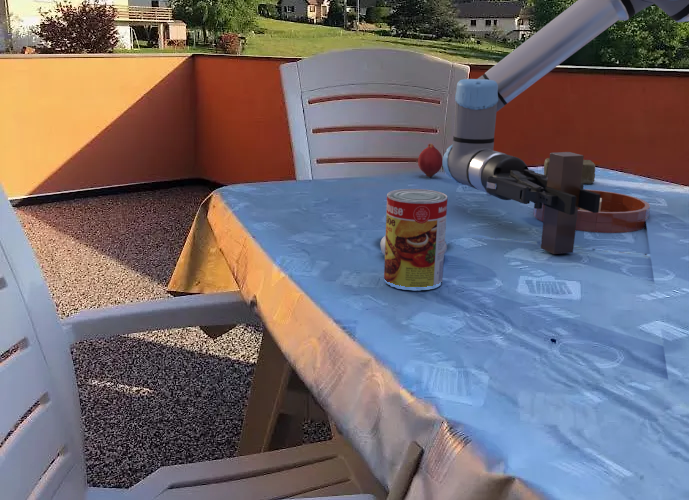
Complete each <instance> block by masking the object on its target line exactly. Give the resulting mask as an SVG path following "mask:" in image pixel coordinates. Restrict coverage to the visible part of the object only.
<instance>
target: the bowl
mask: <svg viewBox="0 0 689 500" xmlns="http://www.w3.org/2000/svg"><path fill="white" fill-rule="evenodd" d="M584 189H585V190H588V191H591V192H594V193H597V194H601V195H600V198H602V202H601V210H600V212H598V213H593V212H590V211H584V210H580V208H579V207H578V212H577V221H576V230H575V231H578V232H579V231H580V232H588V233H600V234H601V233H602V234H623V233H632V232H638V231H641V230H644V229H645V228H646V227H647V220H649V215H650V210H651V205H650V203H649V202H647V201H646V200H645V199H641V198H639V197H637V196H633V195H629V194H624V193H619V192H613V191H607V190H600V189H599V190H598V189H588V188H584ZM544 209H545V205H544V203H542V208H541V209H535V208H534V207H533V216H534V218H535V219H537V220H538V221H540V222H542V223H543V220H544Z"/></svg>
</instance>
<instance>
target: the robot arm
mask: <svg viewBox="0 0 689 500" xmlns="http://www.w3.org/2000/svg"><path fill="white" fill-rule="evenodd" d="M654 4H655V5H656V6H657V7H658V8H659V9H661V11H663V12H664V13H665V14H666V15H668V16H669V17H670V18H671V19H672V20H673V21H675V23H684V22H686V23H687V22H689V0H576V1H575V2H574V3H572V4H571V5H569V7H567V8H566V9H565V10H564V11H562V12H561V13H560V14H558V15H557V16H556V17H554V18H553V19H552V20H550V21H549V22H548V23H547V24H545V25H544V26H543V27H542V28H541V29H539V30H538V31H536V32H535V33H534V34H532V35H531V36H530V37H529V38H528V39H526V40H525V41H524V42H523V43H521V44H520V45H519V46H517V47H516V48H515V49H513V50H512V51H511V52H510V53H508V54H507V55H506V56H505V57H503V58H502V59H501V60H500V61H498V62H497V63H496V64H495V65H493V66H492V67H490V68H489V69H488V70H487V71H485V72H484V73H483V74H482V75H480V76H479V77H478V78H465V79H460V80H459V81H457V84H456V90H455V95H454V116H453V117H454V119H453V120H454V121H453V122H454V123H453V138H452V144H451V145H449V146H448V147H447V148H446V150H445V152H444V154H443V155H442V159H443V161H442V168H443V171H444V173H445V174H446V175H447V176H448V177H449V178H451V179H452V180H454V181H455V182H456V183H458V184H461V185H464V186H467V187H470V188H473V189H476V190H477V191H480V192H483V193H486V194H485V195H486V196H487V197H491V196H492V197H494V198H496V199H497V198H498V199H500V200H503V201H511V200H512V201H515V202H518V203H520V204H523V205H529V204H530V203H533V209H534V208H535V209H541V208H542V203H544V205H545V206H548V207H551V208H553V209H556V210H559V211H561V212H564V213H567V214H569V215H574V214H575V205H576V196H574V195H571V194H568V193H565V192H562V191H559V190H556V189H553V188H550V187H547V179H548V177H547V178H546V176H545V175H544V173H543V174H542V173H539V172H535V170H533V169H529V166H528V165H527V164H526V162H525V161H524V160H523V159H521V158H519V157H517V156H513V155H510V154H507V153H504V152H501V151H496V150H494V146H495V133H496V121H497V112H499V111H500V110H501V109H502V108H504V107H505V106H506V105H507V104H509V103H510V102H511V101H512V100H514V99H515V98H516V97H518V96H519V95H521V94H523V92H525V91H526V90H527V89H529V88H530V87H531V86H533V85H534V84H535V83H536V82H538V81H540V79H542V78H543V77H544V76H546V75H547V74H549V73H550V72H551V71H553V70H554V69H555V68H557V67H558V66H560V64H562V63H564V61H566V60H567V59H568V58H570V57H571V56H573V55H574V54H575V53H577V52H578V51H579V50H581V49H582V48H583V47H585V46H586V45H587V44H589V43H590V42H591V41H592V40H594V39H595V38H597V37H598V36H599V35H600V34H602V33H603V32H604V31H606V30H608V29H609V28H610V27H611V26H612V25H614V24H615V23H617V22H618V21H628V20H630V18H632V17H634V16H635V15H636V14H638V13H639V12H640V11H643V10H644V9H646V8H648V7H651V6H652V5H654ZM584 185H585V184H582V183H581V186H580V194H579V203H578V207H579V208H582V209H585V210H587V211H590V212H593V213H598V211H599V203H600V195H601V194H597V193H594V192H591V191H588V190H585V189H586V188H584Z"/></svg>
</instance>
